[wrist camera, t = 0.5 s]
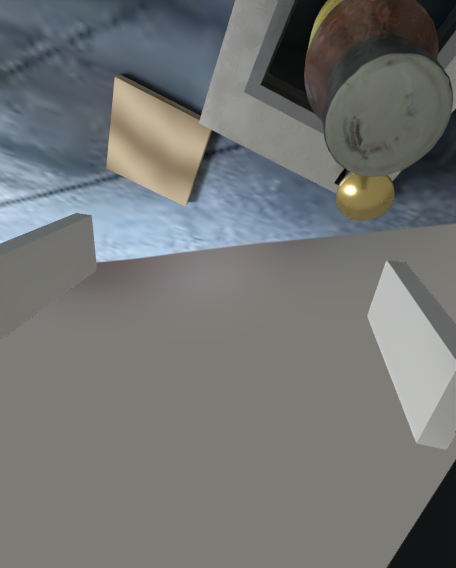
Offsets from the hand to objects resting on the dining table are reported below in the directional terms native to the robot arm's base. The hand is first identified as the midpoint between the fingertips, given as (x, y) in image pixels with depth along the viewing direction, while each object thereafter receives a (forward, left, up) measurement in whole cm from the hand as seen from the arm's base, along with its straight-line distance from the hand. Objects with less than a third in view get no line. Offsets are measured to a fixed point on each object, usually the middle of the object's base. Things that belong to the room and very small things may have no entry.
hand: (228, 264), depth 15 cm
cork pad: (+9, -11, -22) cm, 26 cm away
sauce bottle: (-7, +2, -22) cm, 23 cm away
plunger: (+1, +9, -20) cm, 21 cm away
